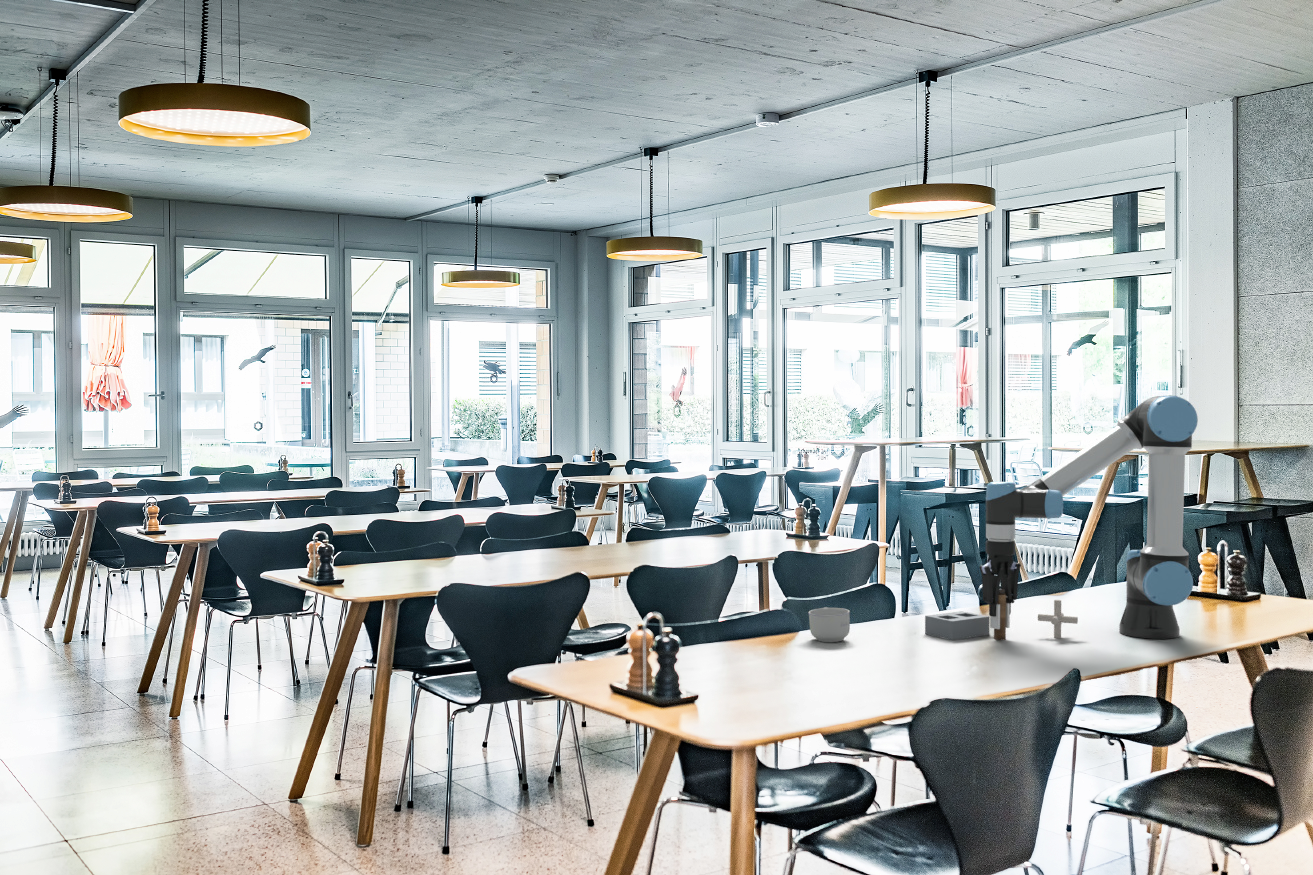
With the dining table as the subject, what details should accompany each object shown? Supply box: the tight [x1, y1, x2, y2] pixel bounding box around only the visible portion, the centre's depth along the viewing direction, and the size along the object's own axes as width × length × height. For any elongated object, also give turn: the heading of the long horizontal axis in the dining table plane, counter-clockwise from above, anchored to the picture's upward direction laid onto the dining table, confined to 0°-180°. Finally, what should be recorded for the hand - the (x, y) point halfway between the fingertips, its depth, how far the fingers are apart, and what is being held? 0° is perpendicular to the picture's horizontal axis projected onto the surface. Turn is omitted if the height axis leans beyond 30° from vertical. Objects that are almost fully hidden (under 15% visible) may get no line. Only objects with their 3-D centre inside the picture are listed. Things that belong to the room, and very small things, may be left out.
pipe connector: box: [1037, 599, 1079, 639], centre depth 314 cm, size 10×10×10 cm
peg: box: [993, 588, 1007, 641], centre depth 312 cm, size 3×3×13 cm
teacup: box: [807, 606, 851, 643], centre depth 311 cm, size 14×11×8 cm
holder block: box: [924, 611, 990, 641], centre depth 318 cm, size 10×14×5 cm
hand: (999, 627), depth 312 cm, fingers closed on peg, 3 cm apart
